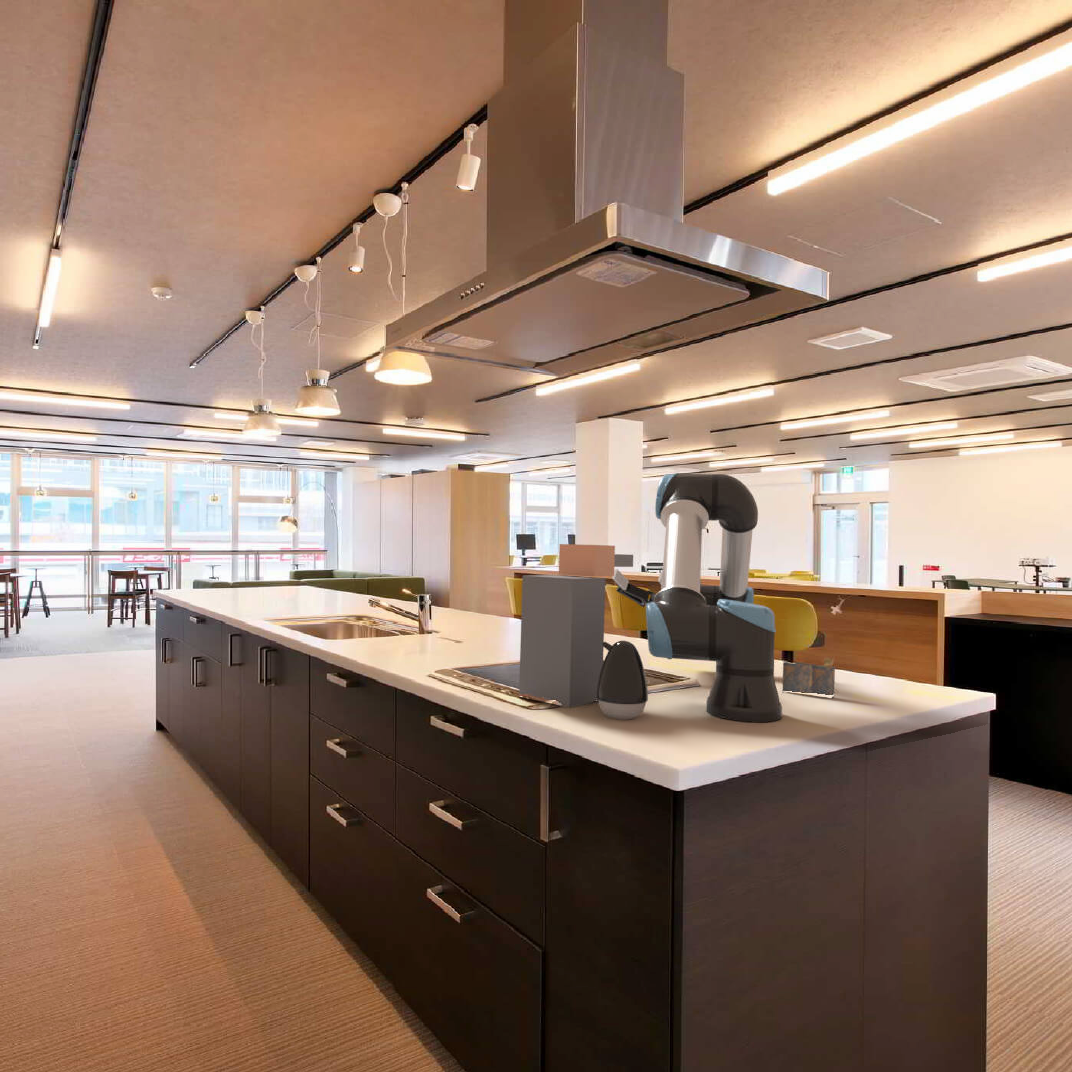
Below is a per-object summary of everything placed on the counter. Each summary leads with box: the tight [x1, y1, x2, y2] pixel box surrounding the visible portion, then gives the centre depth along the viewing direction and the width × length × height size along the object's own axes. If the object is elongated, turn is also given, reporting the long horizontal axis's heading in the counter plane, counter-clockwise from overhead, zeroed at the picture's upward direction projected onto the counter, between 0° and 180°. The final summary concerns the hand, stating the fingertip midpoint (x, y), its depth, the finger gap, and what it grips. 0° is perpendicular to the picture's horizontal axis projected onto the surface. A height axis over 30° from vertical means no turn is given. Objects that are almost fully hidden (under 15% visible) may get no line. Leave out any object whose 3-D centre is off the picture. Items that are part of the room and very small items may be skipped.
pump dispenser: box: [597, 640, 649, 720], centre depth 146 cm, size 10×10×15 cm
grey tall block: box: [518, 574, 606, 709], centre depth 162 cm, size 12×14×27 cm
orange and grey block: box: [558, 543, 634, 577], centre depth 173 cm, size 22×10×7 cm, turn 140°
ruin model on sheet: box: [782, 656, 836, 695], centre depth 175 cm, size 25×16×10 cm, turn 55°
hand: (637, 574), depth 185 cm, fingers open, 13 cm apart
